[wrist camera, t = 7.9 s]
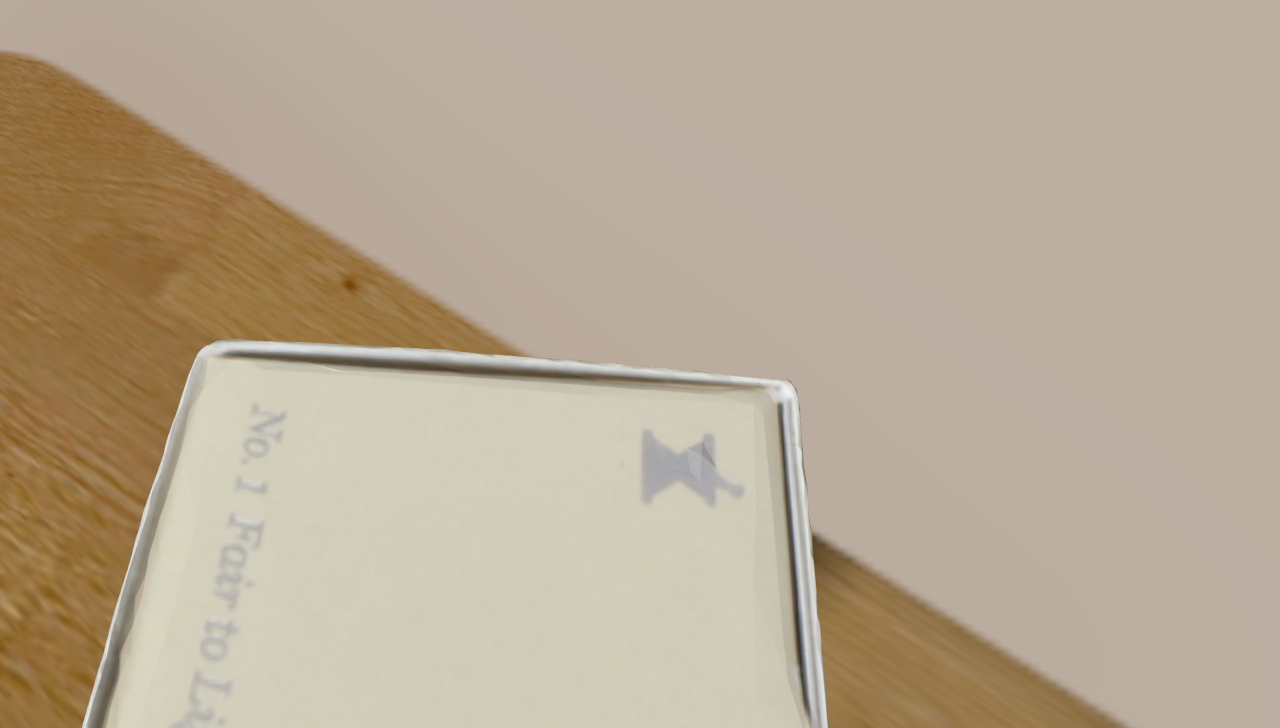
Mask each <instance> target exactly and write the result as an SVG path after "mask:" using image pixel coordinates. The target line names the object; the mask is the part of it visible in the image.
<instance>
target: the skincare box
mask: <svg viewBox="0 0 1280 728" xmlns="http://www.w3.org/2000/svg"><path fill="white" fill-rule="evenodd" d="M82 728H829V721H828V707H827V694H826V680H825V670H824V662H823V653H822V644H821V635H820V623H819V613H818V603H817V593H816V582H815V571H814V559H813V546H812V535H811V527H810V520H809V512H808V492H807V484H806V477H805V471H804V463H803V448H802V436H801V423H800V407H799V401H798V395H797V391H796V388H795V387H794V386H793V384H792V383H791V381H790V380H785V379H773V378H759V377H738V376H728V375H722V374H716V373H708V372H699V371H687V370H672V369H663V368H650V367H636V366H629V365H622V364H601V363H594V362H588V361H582V360H560V359H546V358H531V357H517V356H503V355H489V354H476V353H466V352H457V351H451V350H444V349H416V348H397V347H385V346H364V345H341V344H321V343H301V342H270V341H259V340H248V339H232V340H221V341H217V342H215V343H212V344H210V345H208V346H205V347H204V348H203V349H202V350H201V351H199V352H198V354H197V357H196V359H195V362H194V364H193V366H192V369H191V371H190V373H189V376H188V379H187V382H186V385H185V388H184V391H183V394H182V398H181V401H180V404H179V407H178V410H177V413H176V416H175V419H174V422H173V424H172V427H171V430H170V433H169V435H168V438H167V442H166V447H165V451H164V455H163V458H162V461H161V464H160V467H159V469H158V472H157V475H156V478H155V481H154V483H153V486H152V489H151V492H150V495H149V498H148V501H147V503H146V506H145V509H144V512H143V516H142V520H141V524H140V528H139V531H138V534H137V537H136V541H135V545H134V549H133V553H132V556H131V560H130V564H129V567H128V570H127V573H126V576H125V580H124V583H123V586H122V589H121V592H120V596H119V599H118V602H117V605H116V608H115V612H114V616H113V619H112V623H111V627H110V630H109V634H108V638H107V642H106V646H105V650H104V654H103V657H102V661H101V664H100V667H99V671H98V674H97V677H96V681H95V684H94V688H93V691H92V694H91V698H90V701H89V705H88V708H87V712H86V715H85V719H84V722H83V726H82Z"/></svg>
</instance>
